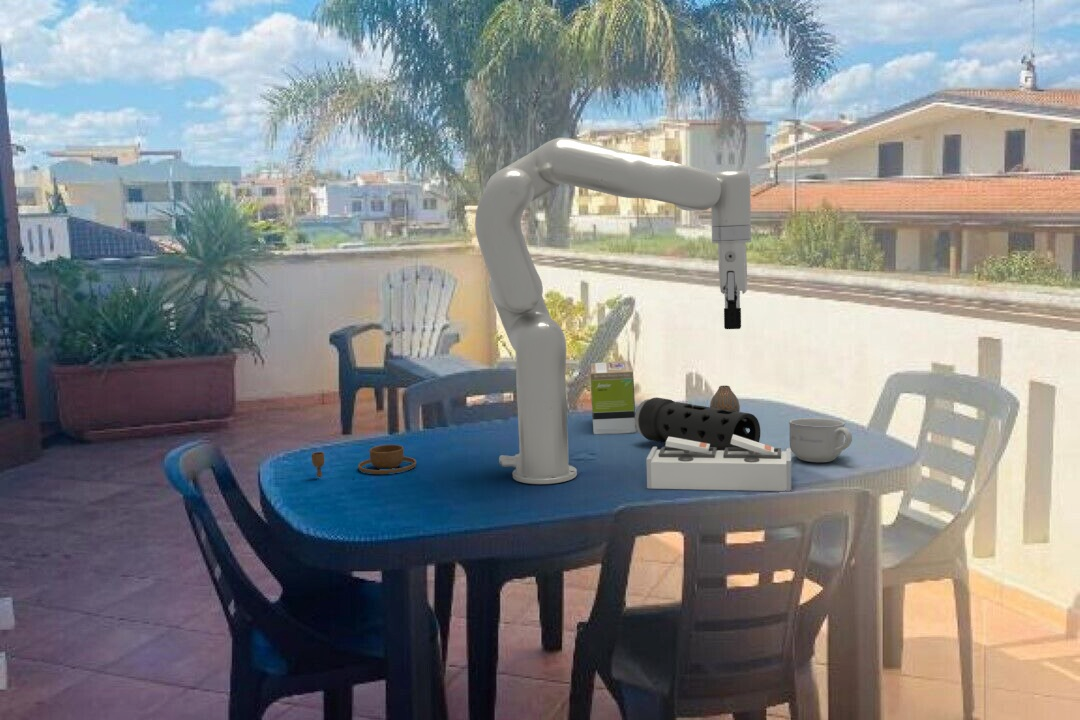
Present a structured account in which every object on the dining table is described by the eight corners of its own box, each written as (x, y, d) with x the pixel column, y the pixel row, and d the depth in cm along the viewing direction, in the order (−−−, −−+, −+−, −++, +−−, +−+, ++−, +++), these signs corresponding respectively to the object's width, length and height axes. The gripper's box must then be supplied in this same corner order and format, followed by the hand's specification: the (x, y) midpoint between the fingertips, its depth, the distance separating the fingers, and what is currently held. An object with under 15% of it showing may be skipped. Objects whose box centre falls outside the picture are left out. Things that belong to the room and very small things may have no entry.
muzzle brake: (731, 467, 214) (730, 416, 212) (632, 446, 235) (630, 399, 234) (762, 458, 220) (761, 408, 218) (662, 438, 241) (661, 393, 240)
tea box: (591, 421, 262) (589, 361, 260) (633, 420, 262) (631, 360, 260) (592, 435, 247) (590, 371, 245) (636, 433, 247) (634, 370, 245)
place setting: (410, 481, 215) (408, 452, 214) (310, 484, 215) (308, 456, 214) (421, 460, 232) (420, 433, 231) (329, 463, 233) (327, 436, 232)
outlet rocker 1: (664, 449, 203) (666, 440, 203) (667, 444, 207) (668, 435, 207) (707, 457, 202) (708, 448, 201) (708, 452, 205) (710, 443, 205)
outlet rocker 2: (729, 447, 200) (732, 438, 200) (730, 442, 204) (733, 433, 204) (771, 460, 199) (774, 451, 199) (771, 455, 203) (774, 447, 202)
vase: (740, 419, 257) (740, 383, 256) (739, 426, 250) (738, 388, 249) (711, 419, 259) (710, 383, 257) (709, 425, 252) (708, 388, 251)
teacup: (778, 457, 219) (778, 418, 218) (823, 451, 223) (822, 413, 222) (820, 472, 206) (820, 431, 205) (866, 465, 210) (867, 424, 209)
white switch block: (647, 488, 200) (646, 459, 199) (653, 474, 209) (652, 446, 209) (791, 491, 194) (790, 460, 193) (791, 477, 204) (790, 448, 203)
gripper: (749, 236, 202) (750, 333, 205) (752, 233, 216) (753, 323, 219) (709, 237, 204) (710, 333, 206) (714, 234, 218) (715, 324, 221)
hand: (732, 328), depth 213 cm, fingers closed
